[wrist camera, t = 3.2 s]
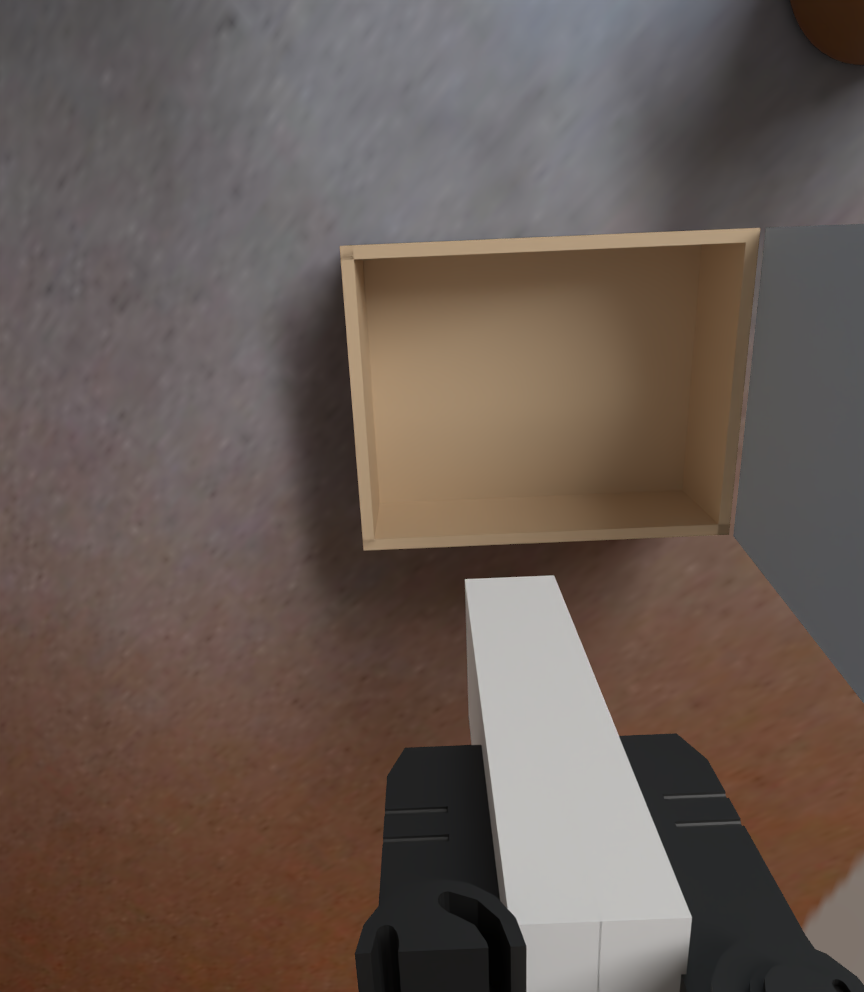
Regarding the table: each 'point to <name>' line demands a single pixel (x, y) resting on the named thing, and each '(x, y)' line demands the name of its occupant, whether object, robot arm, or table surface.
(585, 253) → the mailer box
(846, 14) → the mug
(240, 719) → the table surface
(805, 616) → the lid
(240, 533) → the table surface
